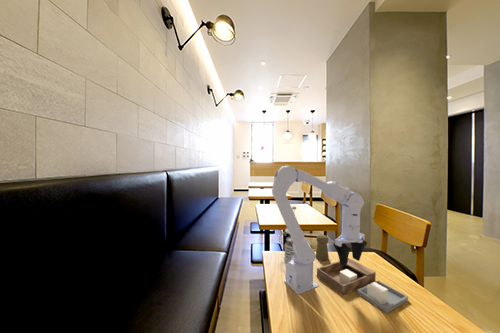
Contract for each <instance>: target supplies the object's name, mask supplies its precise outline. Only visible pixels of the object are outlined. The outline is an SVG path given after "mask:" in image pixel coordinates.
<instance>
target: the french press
mask: <svg viewBox="0 0 500 333" xmlns="http://www.w3.org/2000/svg"><path fill="white" fill-rule="evenodd" d="M291 207H292V210H297V207H296V206H291ZM301 231H302V233H303V232H304V231H303V230H302V229H301ZM283 234H284V236H285V242H284V244H283V242H282V240H281V237H282V235H283ZM287 234H288V235H290V233H289V231H288V229H287V228H285V230H284V232H282V233H281V234H280V235H279V239H278V241H279V244H280V246H281V247H282V248H283V250H284V256H283V257H282V258H283V262H284V263H286V264H287V263H288V262H290V261H291V260H292V259H293V255H294V253H295V251H294V249H293V246H292V243H293V241H292V238H291V236H288V237H286V236H287ZM303 234H304V233H303Z"/></svg>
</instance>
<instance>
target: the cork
mask: <svg viewBox="0 0 500 333" xmlns="http://www.w3.org/2000/svg"><path fill="white" fill-rule="evenodd" d="M315 240H316V241H317V244H316V250H315V260H317V261H319V262H325V263H326V262H328V261H329V260H330V258H329V249H328V243H329V238H328V236H327V235H324V234H317V236H316V239H315Z"/></svg>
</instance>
